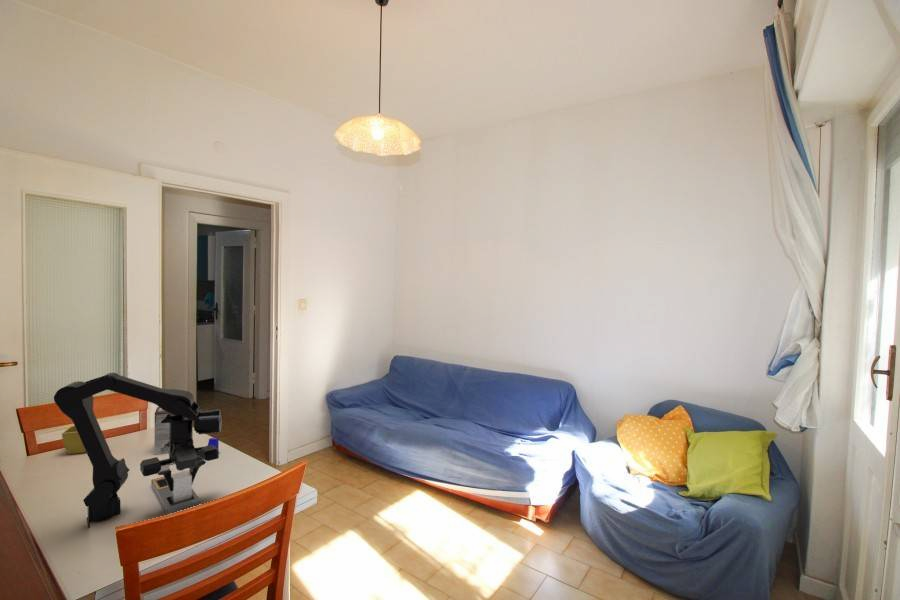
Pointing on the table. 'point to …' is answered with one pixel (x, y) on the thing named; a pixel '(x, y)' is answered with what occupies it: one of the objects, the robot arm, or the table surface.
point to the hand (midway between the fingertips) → (180, 488)
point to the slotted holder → (164, 497)
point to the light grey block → (181, 487)
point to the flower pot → (72, 441)
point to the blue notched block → (213, 442)
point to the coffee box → (161, 432)
